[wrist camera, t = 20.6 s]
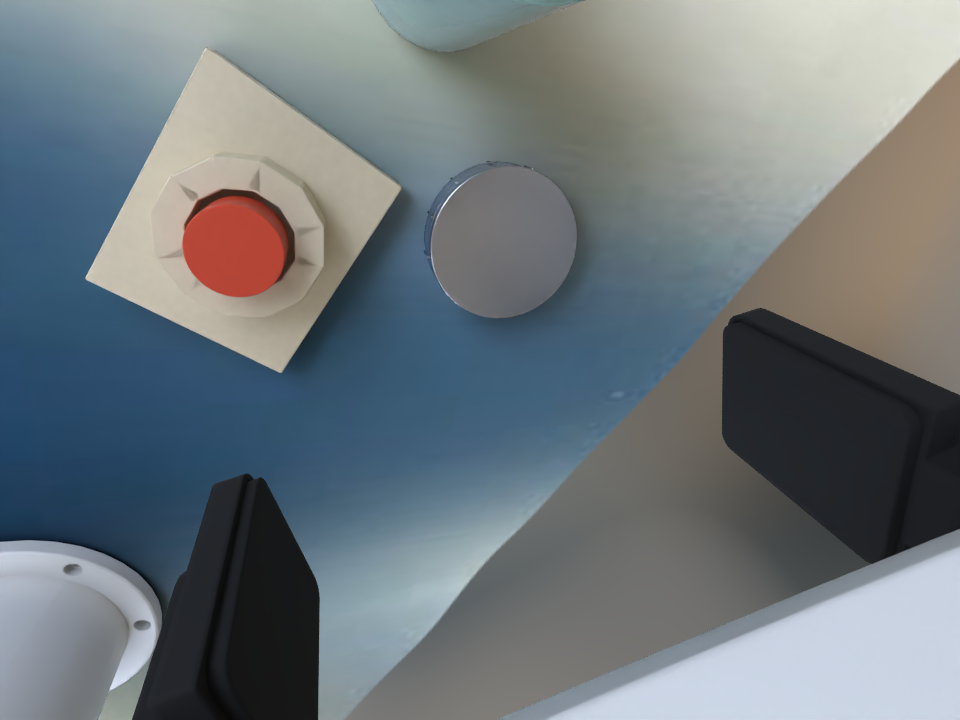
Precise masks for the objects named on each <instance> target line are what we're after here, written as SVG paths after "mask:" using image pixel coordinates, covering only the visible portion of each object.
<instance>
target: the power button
mask: <svg viewBox="0 0 960 720" xmlns="http://www.w3.org/2000/svg"><path fill="white" fill-rule="evenodd" d="M182 249H183V255H184V258H185V261H186V263H187V265H188V268H189V269H190V271H191V272H192V274H193V275H194V276H195V277H196V278H197V279H198V280H199V281H200V282H201V283H202V284H203V285H205V286H206V287H208V288H209V289H211V290H213V291H215V292H217V293H220V294H223V295H226V296H231V297H249V296H253V295H257V294H259V293H262V292H264V291H265V290H267V289H268V288H270V287H271V286H272V285H273V284H274V283H275V282H276V281H277V279H278V278H279V276H280V275H281V273H282V270H283V267H284V264H285V261H286V258H287V255H288V250H289V240H288V235H287V231H286V229H285V226H284V224H283V223H282V221H281V219H280V218H279V217H278V215H277V214H276V213H275V212H274V211H273V210H272V209H270V208H269V207H268V206H266V205H265V204H263V203H261V202H260V201H257V200H255V199H252V198H249V197H244V196H227V197H223V198H220V199H217V200H215V201H213V202H212V203H210V204H209V205H208V206H206V207H205V208H204V209H203V210H201V211H200V212H199V213H198V214H196V215H195V216H194V217H193V218H192V219H191V220H190V222H189V223H188V225H187V227H186V229H185V231H184V235H183V241H182Z"/></svg>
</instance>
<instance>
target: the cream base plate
mask: <svg viewBox="0 0 960 720" xmlns="http://www.w3.org/2000/svg"><path fill="white" fill-rule="evenodd" d="M401 189H402V187H401V185H400V184H399V183H398V182H397V181H396V180H394V179H393V178H391V177H390V176H389V175H387V174H386V173H384V172H383V171H382V170H380V169H379V168H378V167H376V166H375V165H373V164H372V163H371V162H369V161H368V160H366V159H365V158H364V157H362V156H361V155H360V154H358V153H357V152H355V151H354V150H353V149H351V148H350V147H348V146H347V145H346V144H344V143H343V142H341V141H340V140H339V139H337V138H336V137H335V136H333V135H332V134H330V133H329V132H328V131H326V130H325V129H323V128H322V127H321V126H319V125H318V124H317V123H315V122H314V121H312V120H311V119H310V118H308V117H307V116H305V115H304V114H303V113H301V112H300V111H299V110H297V109H296V108H294V107H293V106H292V105H290V104H289V103H287V102H286V101H285V100H283V99H282V98H281V97H279V96H278V95H276V94H275V93H274V92H272V91H271V90H269V89H268V88H267V87H265V86H264V85H263V84H261V83H260V82H258V81H257V80H256V79H254V78H253V77H251V76H250V75H249V74H247V73H246V72H245V71H243V70H242V69H240V68H239V67H238V66H236V65H235V64H233V63H232V62H231V61H229V60H228V59H226V58H225V57H224V56H222V55H221V54H220V53H218V52H217V51H215V50H213V49H211V48H208V47H206V48H205V50H204V52H203V54H202V55H201V57H200V59H199V61H198V63H197V65H196V67H195V69H194V71H193V73H192V75H191V77H190V78H189V80H188V82H187V84H186V86H185V88H184V90H183V92H182V94H181V96H180V98H179V100H178V102H177V103H176V105H175V107H174V109H173V111H172V113H171V115H170V117H169V119H168V121H167V123H166V125H165V126H164V128H163V130H162V132H161V134H160V136H159V138H158V140H157V142H156V144H155V146H154V148H153V149H152V151H151V153H150V155H149V157H148V159H147V161H146V163H145V165H144V167H143V169H142V171H141V172H140V174H139V176H138V178H137V180H136V182H135V184H134V186H133V188H132V190H131V192H130V194H129V195H128V197H127V199H126V201H125V203H124V205H123V207H122V209H121V211H120V213H119V215H118V217H117V218H116V220H115V222H114V224H113V226H112V228H111V230H110V232H109V234H108V236H107V238H106V240H105V241H104V243H103V245H102V247H101V249H100V251H99V253H98V255H97V257H96V259H95V261H94V263H93V264H92V266H91V268H90V270H89V272H88V274H87V276H86V280H88V281H90V282H92V283H94V284H96V285H98V286H100V287H102V288H105V289H107V290H109V291H111V292H113V293H115V294H117V295H119V296H121V297H123V298H125V299H127V300H130V301H132V302H134V303H136V304H138V305H140V306H142V307H144V308H146V309H148V310H150V311H152V312H154V313H157V314H159V315H161V316H163V317H165V318H167V319H169V320H171V321H173V322H175V323H177V324H179V325H182V326H184V327H186V328H188V329H190V330H192V331H194V332H196V333H198V334H200V335H202V336H204V337H206V338H209V339H211V340H213V341H215V342H217V343H219V344H221V345H223V346H225V347H227V348H229V349H231V350H234V351H236V352H238V353H240V354H242V355H244V356H246V357H248V358H250V359H252V360H254V361H256V362H258V363H261V364H263V365H265V366H267V367H269V368H271V369H273V370H275V371H277V372H279V373H282V372H283V370H284V369H285V367H286V365H287V364H288V362H289V361H290V359H291V358H292V356H293V355H294V353H295V352H296V350H297V349H298V347H299V346H300V344H301V342H302V341H303V339H304V338H305V336H306V335H307V333H308V332H309V330H310V329H311V327H312V326H313V324H314V323H315V321H316V320H317V318H318V316H319V315H320V313H321V312H322V310H323V309H324V307H325V306H326V304H327V303H328V301H329V300H330V298H331V297H332V295H333V293H334V292H335V290H336V289H337V287H338V286H339V284H340V283H341V281H342V280H343V278H344V277H345V275H346V274H347V272H348V271H349V269H350V267H351V266H352V264H353V263H354V261H355V260H356V258H357V257H358V255H359V254H360V252H361V251H362V249H363V248H364V246H365V244H366V243H367V241H368V240H369V238H370V237H371V235H372V234H373V232H374V231H375V229H376V228H377V226H378V225H379V223H380V222H381V220H382V218H383V217H384V215H385V214H386V212H387V211H388V209H389V208H390V206H391V205H392V203H393V202H394V200H395V199H396V197H397V195H398V194H399V192H400V191H401ZM227 196H244V197H249V198H252V199H255V200H257V201H260V202H261V203H263V204H265V205H266V206H268V207H269V208H270V209H272V210H273V211H274V212H275V213H276V214H277V215H278V217H279V218H280V219H281V221H282V223H283V224H284V226H285V229H286V231H287V235H288V240H289V250H288V255H287V258H286V261H285V264H284V267H283V270H282V273H281V275H280V276H279V278H278V279H277V281H276V282H275V283H274V284H273V285H272V286H271V287H270V288H268V289H267V290H265V291H264V292H262V293H259V294H257V295H253V296H249V297H231V296H226V295H223V294H220V293H217V292H215V291H213V290H211V289H209V288H208V287H206V286H205V285H203V284H202V283H201V282H200V281H199V280H198V279H197V278H196V277H195V276H194V275H193V274H192V272H191V271H190V269H189V268H188V265H187V263H186V261H185V258H184V255H183V249H182V241H183V235H184V231H185V229H186V227H187V225H188V223H189V222H190V220H191V219H192V218H193V217H194V216H195V215H196V214H198V213H199V212H200V211H201V210H203V209H204V208H205V207H206V206H208V205H209V204H210V203H212V202H213V201H215V200H217V199H220V198H223V197H227Z"/></svg>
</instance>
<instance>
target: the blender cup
mask: <svg viewBox="0 0 960 720" xmlns="http://www.w3.org/2000/svg"><path fill="white" fill-rule="evenodd" d="M582 1H584V0H373V2H374V4H375V6H376V8H377V9H378V11H379V12H380V14H381V15H382V17H383V18H384V19H385V20H386V22H387V23H388V24H389V25H390V26H391V27H392V28H393V29H394V30H395V31H396V32H397V33H398V34H399V35H401V36H402V37H403V38H405V39H406V40H408V41H409V42H411V43H413V44H415V45H417V46H419V47H422V48H424V49H427V50H431V51H436V52H456V51H461V50H465V49H468V48H470V47H473V46H475V45H478V44H480V43H483V42H485V41H487V40H490V39H492V38H495V37H497V36H499V35H502V34H504V33H507V32H509V31H512V30H514V29H516V28H519V27H521V26H524V25H526V24H529V23H531V22H533V21H536V20H538V19H541V18H543V17H546V16H548V15H550V14H553V13H555V12H558V11H560V10H562V9H565V8H567V7H570V6H572V5H575V4H577V3H579V2H582Z"/></svg>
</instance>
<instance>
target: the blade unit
mask: <svg viewBox="0 0 960 720" xmlns="http://www.w3.org/2000/svg"><path fill="white" fill-rule="evenodd" d="M486 162H487V163H483V164H479V165H476V166H473V167H471V168H468V169H466V170H465V171H463V172H461V173H459V174H458V175H457V176H455V177H454V178H450V179H451V180H450V181H449V182H448V183H447V184H446V185H445V186H444V187H443V189H442V190H441V191H440V192H439V194H438V195H437V197H436V199H435V200H434V202H433V204H432V206H431V208H430V211H428V212H427V213H428V217H427V220H426V225H425V231H424V244H425V250H424V253H425V255H426V256H427V260H428V263H429V265H430V268H431V270H432V272H433V273H434V275H435V277H436V279H437V280H438V282H439V285H440V287H441V289H442V290H443V292H444V293H446V294H447V295H448V296H449V297H450V298H451V299H452V301H453V302H455V303H456V304H457V305H459V306H460V307H461V308H463V309H465V310H467V311H469V312H471V313H473V314H476V315H479V316H483V317H489V318H507V317H513V316H517V315H521V314H523V313H526V312H528V311H531V310H532V309H534V308H536V307H538V306H539V305H541V304H542V303H544V302H545V301H546V300H547V299H549V298H550V297H551V296H552V295H553V294H554V293H555V292H556V291H557V289H558V288H559V287H560V286H561V284H562V283H563V281H564V280H565V278H566V276H567V274H568V273H569V271H570V268H571V266H572V263H573V260H574V256H575V253H576V246H577V227H576V221H575V216H574V213H573V210H572V207H571V205H570V203H569V201H568V199H567V198H566V196H565V195H564V193H563V192H562V191H561V189H560V188H559V187H558V186H557V185H556V184H555V183H554V182H553V181H551V180H550V179H549V178H547V177H546V176H544V175H542V174H541V173H539V172H537V171H534V169H533V168H530V167H527V166H524V167H523V166H520V165H517V164H513V163H508V162H490V161H486Z"/></svg>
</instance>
